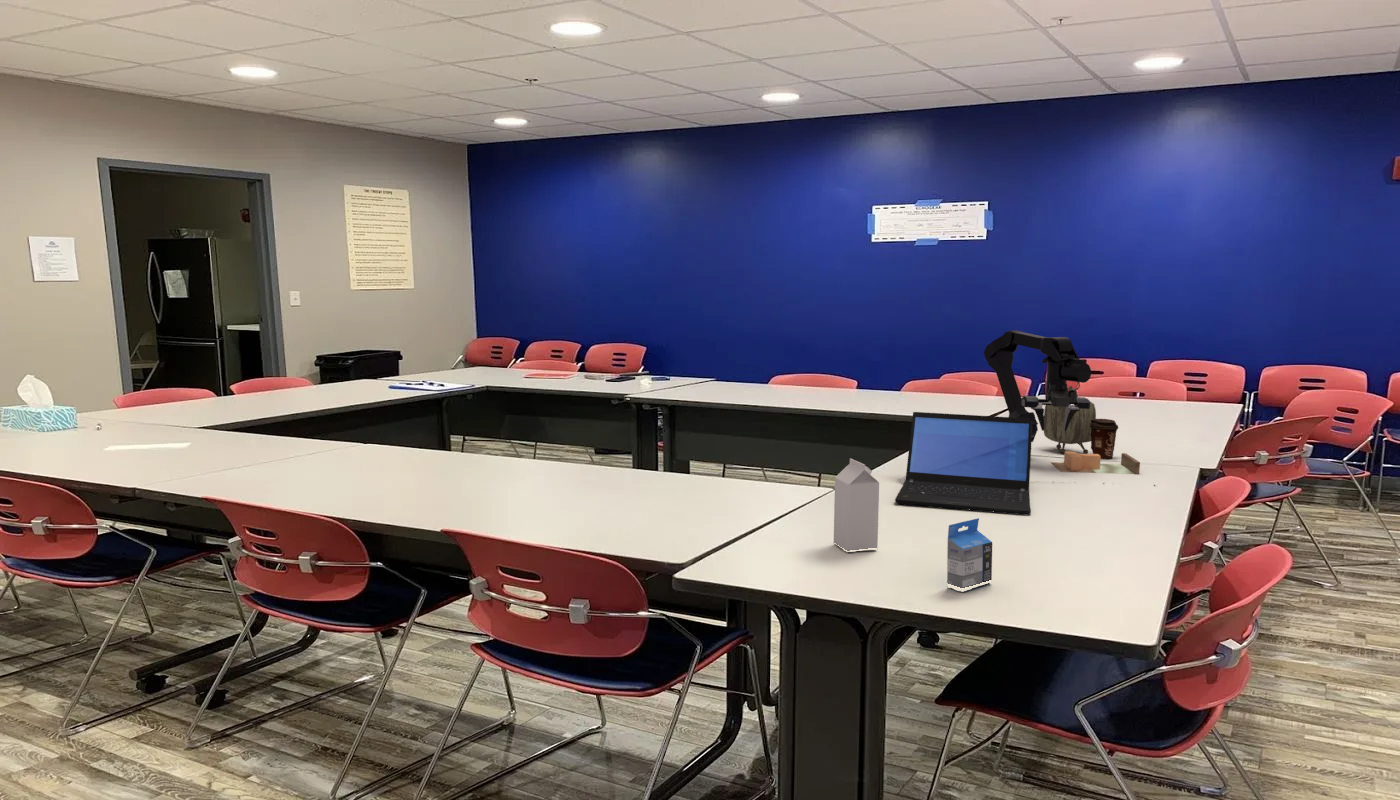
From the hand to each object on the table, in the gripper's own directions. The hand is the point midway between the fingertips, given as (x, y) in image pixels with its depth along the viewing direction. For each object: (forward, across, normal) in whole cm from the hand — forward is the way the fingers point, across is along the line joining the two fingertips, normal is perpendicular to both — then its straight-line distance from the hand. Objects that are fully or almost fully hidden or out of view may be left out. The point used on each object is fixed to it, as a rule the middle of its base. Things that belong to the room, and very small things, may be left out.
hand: (1053, 430), depth 284 cm
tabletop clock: (+12, +11, +30) cm, 34 cm away
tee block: (+11, +9, 0) cm, 14 cm away
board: (+12, +12, 0) cm, 17 cm away
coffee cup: (+12, +19, +18) cm, 29 cm away
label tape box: (+12, -40, -114) cm, 121 cm away
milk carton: (+12, -60, -92) cm, 111 cm away
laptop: (+13, -30, -36) cm, 49 cm away
